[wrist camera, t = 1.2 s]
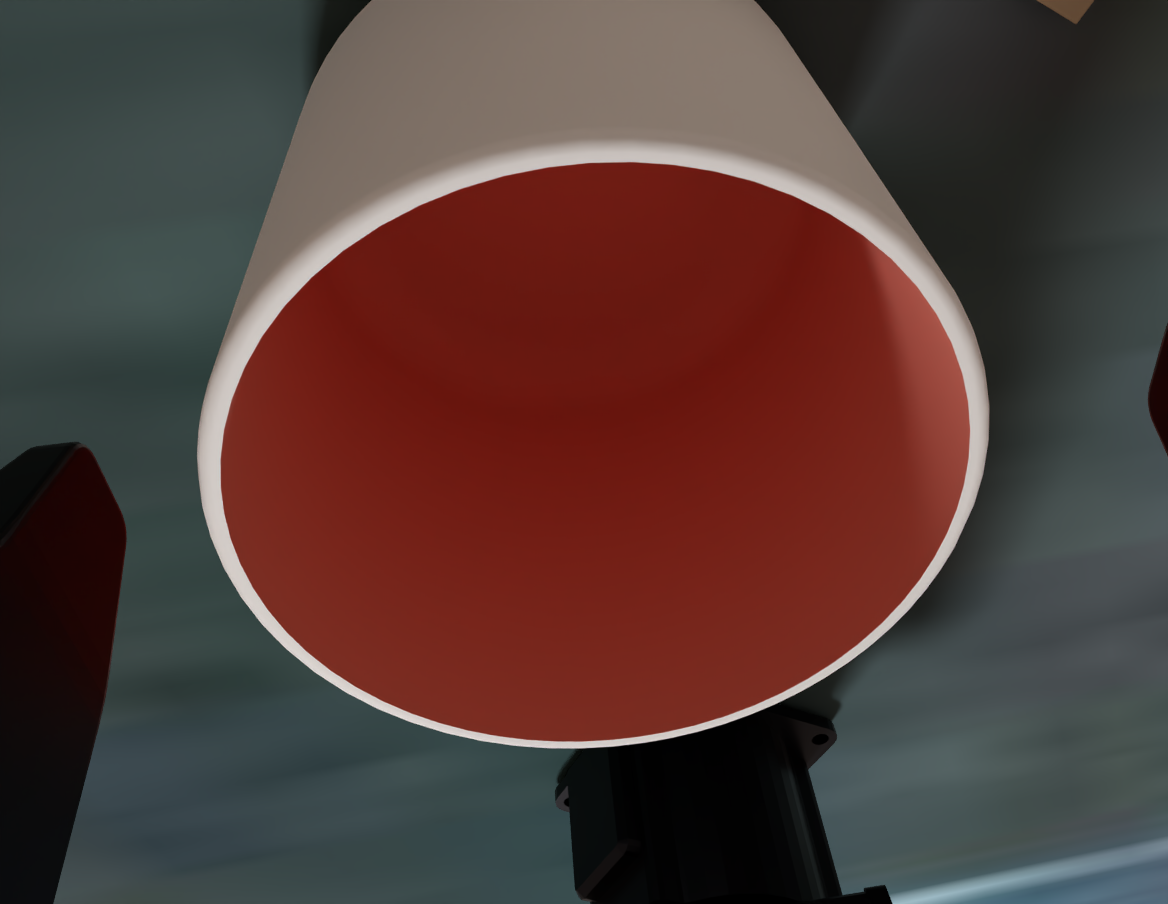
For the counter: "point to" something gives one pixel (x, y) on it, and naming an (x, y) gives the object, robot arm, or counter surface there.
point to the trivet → (1068, 8)
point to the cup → (584, 377)
